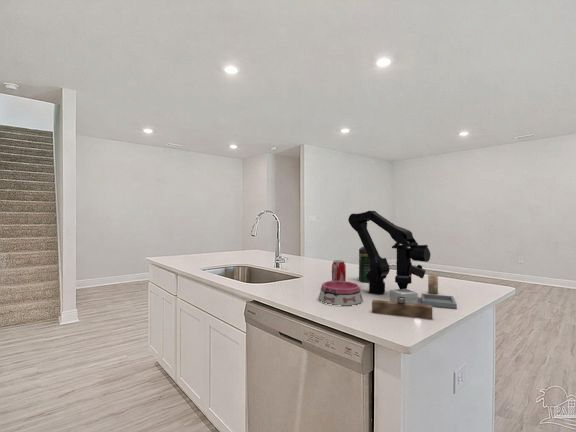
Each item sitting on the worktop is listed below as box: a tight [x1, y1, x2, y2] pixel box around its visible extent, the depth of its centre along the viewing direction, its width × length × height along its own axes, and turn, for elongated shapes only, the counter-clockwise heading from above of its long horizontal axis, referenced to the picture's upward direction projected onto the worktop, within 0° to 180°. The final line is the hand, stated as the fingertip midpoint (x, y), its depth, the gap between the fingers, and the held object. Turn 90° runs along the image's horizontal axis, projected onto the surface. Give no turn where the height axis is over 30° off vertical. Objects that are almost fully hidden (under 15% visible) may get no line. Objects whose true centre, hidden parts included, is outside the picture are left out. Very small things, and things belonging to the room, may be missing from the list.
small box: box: [389, 288, 419, 304], centre depth 124 cm, size 8×8×5 cm
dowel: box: [427, 274, 439, 295], centre depth 139 cm, size 4×4×8 cm
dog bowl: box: [318, 280, 364, 307], centre depth 129 cm, size 18×19×7 cm
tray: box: [420, 293, 457, 310], centre depth 123 cm, size 12×12×2 cm
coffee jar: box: [358, 246, 370, 283], centre depth 167 cm, size 10×8×19 cm
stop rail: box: [371, 297, 433, 320], centre depth 109 cm, size 20×3×6 cm, turn 67°
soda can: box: [331, 260, 347, 281], centre depth 158 cm, size 7×7×12 cm
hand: (403, 295), depth 131 cm, fingers closed
